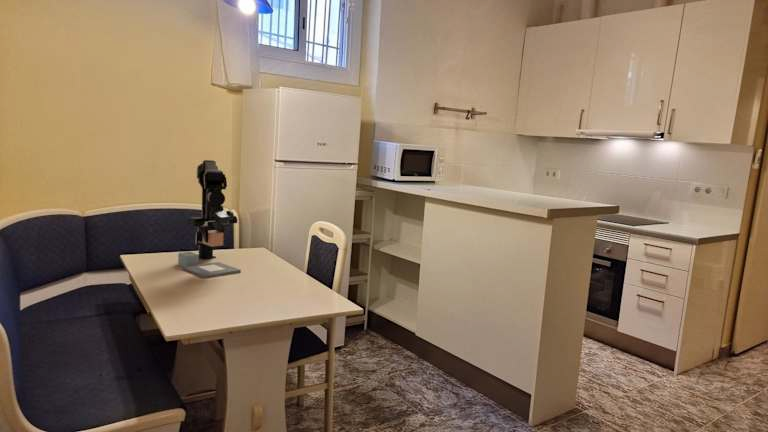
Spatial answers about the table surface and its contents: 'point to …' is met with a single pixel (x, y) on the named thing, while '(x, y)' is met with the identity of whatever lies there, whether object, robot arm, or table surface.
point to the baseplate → (211, 269)
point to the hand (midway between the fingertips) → (212, 241)
